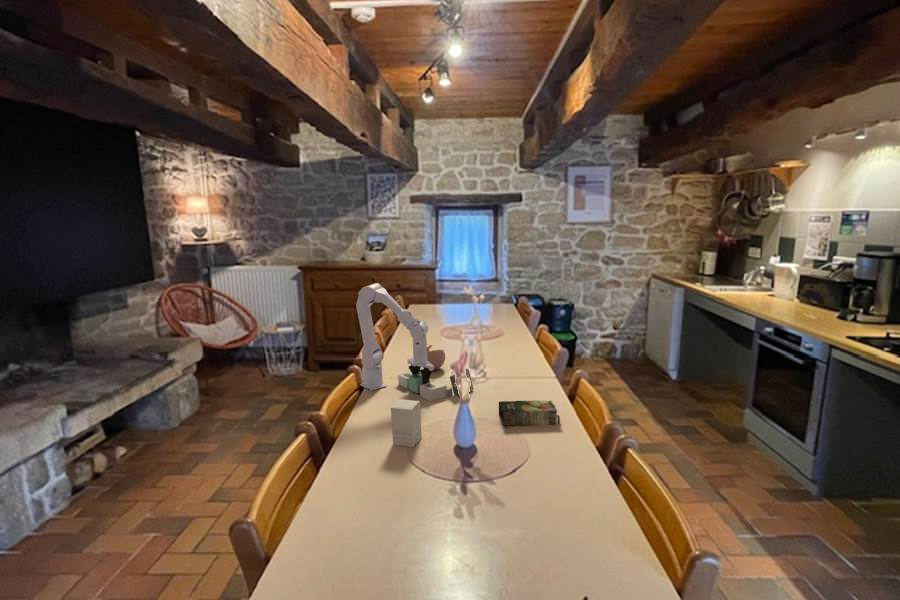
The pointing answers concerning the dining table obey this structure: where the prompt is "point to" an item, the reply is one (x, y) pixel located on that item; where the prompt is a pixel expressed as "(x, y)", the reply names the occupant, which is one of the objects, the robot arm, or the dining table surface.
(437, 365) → the reddish brown round piece
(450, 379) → the electrical switch
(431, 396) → the rail mount
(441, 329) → the dining table surface
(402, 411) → the supplement box
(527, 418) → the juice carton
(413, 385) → the block
